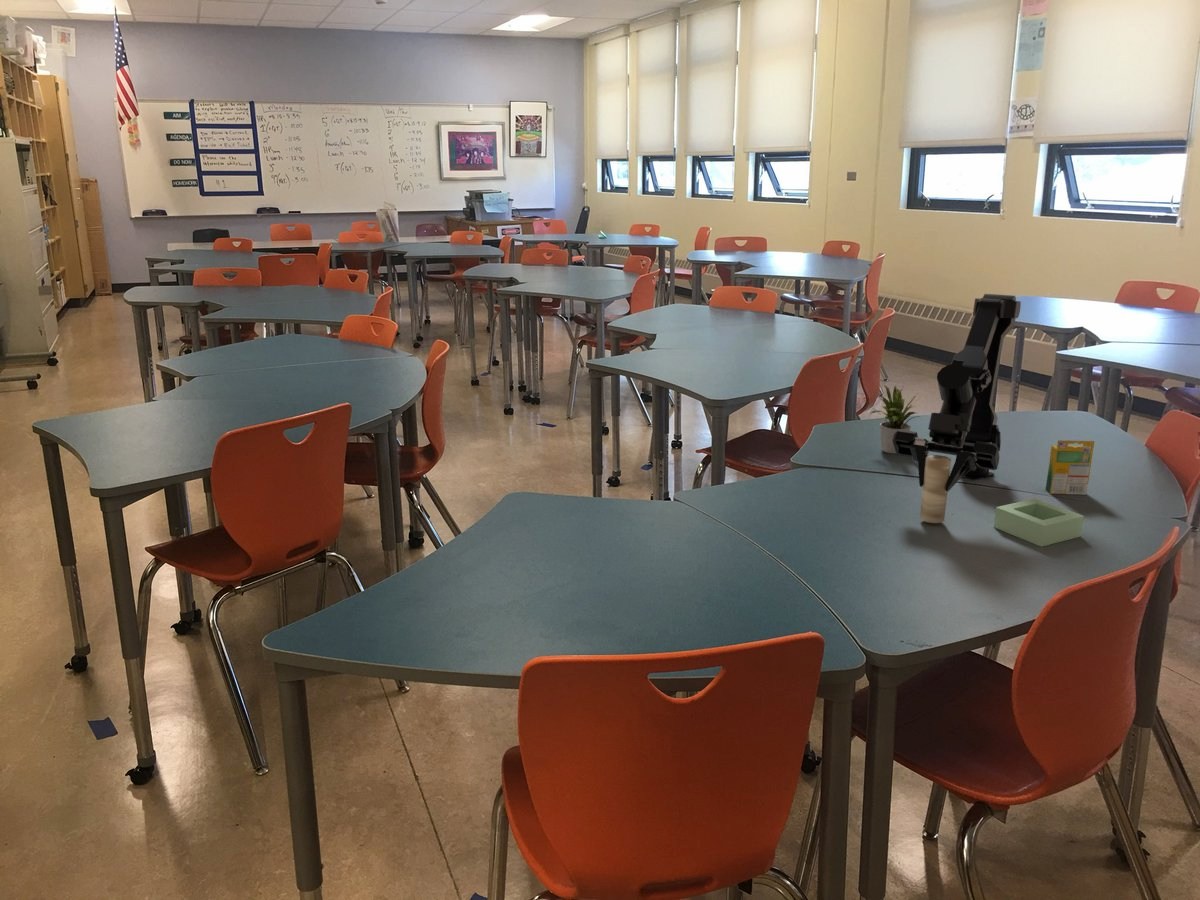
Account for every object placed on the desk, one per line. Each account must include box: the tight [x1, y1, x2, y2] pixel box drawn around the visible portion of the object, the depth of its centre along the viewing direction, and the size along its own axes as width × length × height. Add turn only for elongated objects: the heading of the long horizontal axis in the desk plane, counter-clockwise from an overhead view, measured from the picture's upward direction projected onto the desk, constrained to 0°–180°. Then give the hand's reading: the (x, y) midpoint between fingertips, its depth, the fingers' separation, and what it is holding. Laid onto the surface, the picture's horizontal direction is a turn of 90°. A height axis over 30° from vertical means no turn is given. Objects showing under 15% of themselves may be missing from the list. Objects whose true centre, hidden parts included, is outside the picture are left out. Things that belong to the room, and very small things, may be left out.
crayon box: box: [1045, 440, 1095, 496], centre depth 186 cm, size 7×3×12 cm, turn 84°
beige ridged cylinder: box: [919, 454, 952, 524], centre depth 170 cm, size 4×4×12 cm
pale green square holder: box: [993, 498, 1085, 547], centre depth 167 cm, size 10×10×4 cm
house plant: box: [866, 383, 926, 454], centre depth 215 cm, size 14×14×16 cm
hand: (933, 488), depth 169 cm, fingers closed on beige ridged cylinder, 4 cm apart
